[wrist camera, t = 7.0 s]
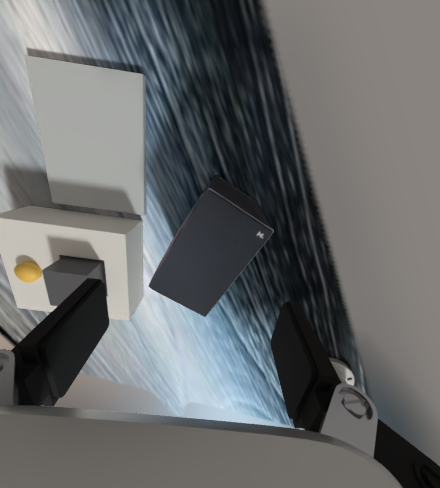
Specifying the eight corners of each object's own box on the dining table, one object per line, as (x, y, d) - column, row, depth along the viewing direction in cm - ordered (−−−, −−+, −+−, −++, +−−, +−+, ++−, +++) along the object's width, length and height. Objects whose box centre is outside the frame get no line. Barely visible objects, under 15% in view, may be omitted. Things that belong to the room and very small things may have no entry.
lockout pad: (146, 213, 26) (144, 215, 25) (57, 201, 26) (52, 202, 25) (145, 76, 21) (142, 73, 20) (31, 58, 20) (24, 55, 19)
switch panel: (143, 296, 31) (126, 325, 26) (48, 284, 31) (11, 312, 25) (142, 220, 26) (121, 237, 21) (30, 205, 26) (-20, 218, 21)
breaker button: (117, 279, 28) (91, 310, 23) (84, 275, 28) (50, 305, 22) (115, 250, 26) (86, 275, 21) (80, 245, 26) (41, 270, 21)
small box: (213, 170, 24) (206, 182, 14) (259, 201, 25) (280, 230, 16) (171, 241, 28) (143, 288, 18) (213, 265, 29) (207, 320, 19)
